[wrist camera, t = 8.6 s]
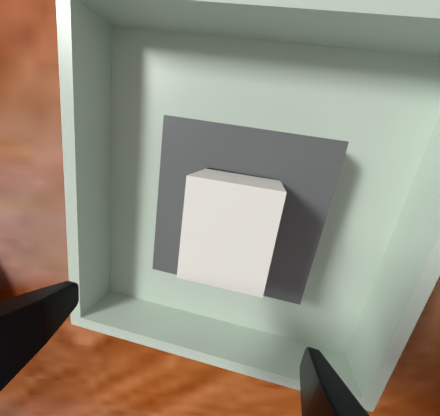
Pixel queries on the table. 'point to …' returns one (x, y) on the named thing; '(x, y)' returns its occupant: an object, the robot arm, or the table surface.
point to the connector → (229, 230)
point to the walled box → (256, 174)
